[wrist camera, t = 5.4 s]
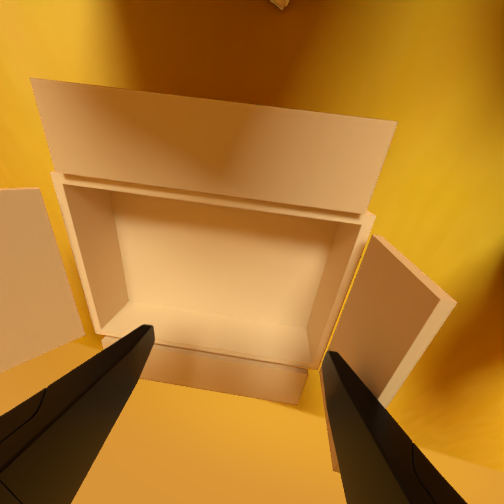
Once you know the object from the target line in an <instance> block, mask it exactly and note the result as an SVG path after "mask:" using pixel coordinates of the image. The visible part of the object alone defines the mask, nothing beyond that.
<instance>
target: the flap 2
mask: <svg viewBox="0 0 504 504" xmlns="http://www.w3.org/2000/svg"><path fill="white" fill-rule="evenodd" d="M456 304H457V302H456V301H455V300H454V299H453V298H452V297H450V296H449V295H448V294H447V293H446V292H445V291H444V290H443V289H441V288H440V287H439V286H438V285H437V284H436V283H435V282H433V281H432V280H431V279H430V278H429V277H428V276H427V275H425V274H424V273H423V272H422V271H421V270H420V269H419V268H417V267H416V266H415V265H414V264H413V263H412V262H411V261H409V260H408V259H407V258H406V257H405V256H404V255H403V254H402V253H400V252H399V251H398V250H397V249H396V248H395V247H394V246H392V245H391V244H390V243H389V242H388V241H387V240H386V239H384V238H383V237H382V236H379V235H372V237H371V240H370V242H369V245H368V247H367V250H366V252H365V255H364V258H363V260H362V263H361V265H360V268H359V271H358V273H357V276H356V278H355V281H354V283H353V286H352V289H351V291H350V294H349V296H348V299H347V302H346V304H345V307H344V309H343V312H342V314H341V317H340V320H339V322H338V325H337V327H336V330H335V333H334V335H333V338H332V340H331V343H330V346H329V348H328V350H330V351H336V352H338V353H339V354H340V355H341V356H342V358H343V359H344V360H345V361H346V362H347V364H348V365H349V366H350V367H351V368H352V370H353V371H354V372H355V373H356V374H357V375H358V377H359V378H360V379H361V380H362V381H363V383H364V384H365V385H366V386H367V387H368V389H369V390H370V391H371V392H372V393H373V395H374V396H375V397H376V398H377V399H378V401H379V402H380V403H381V404H382V405H383V407H384V408H385V409H386V408H387V406H388V405H389V403H390V402H391V400H392V399H393V397H394V396H395V394H396V393H397V392H398V390H399V389H400V387H401V386H402V384H403V383H404V381H405V380H406V378H407V377H408V375H409V374H410V372H411V371H412V369H413V368H414V366H415V365H416V363H417V362H418V360H419V359H420V357H421V356H422V354H423V353H424V351H425V350H426V349H427V347H428V346H429V344H430V343H431V341H432V340H433V338H434V337H435V335H436V334H437V332H438V331H439V329H440V328H441V326H442V325H443V323H444V322H445V320H446V319H447V317H448V316H449V314H450V313H451V311H452V310H453V308H454V307H455V305H456ZM319 373H320V381H321V388H322V395H323V402H324V409H325V416H326V423H327V430H328V438H329V445H330V451H331V459H332V465H333V471H335V472H339V473H340V469H339V465H338V460H337V455H336V451H335V446H334V441H333V437H332V432H331V427H330V423H329V418H328V413H327V408H326V400H325V392H324V383H323V374H322V366H321V369H320V371H319Z"/></svg>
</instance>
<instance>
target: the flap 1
mask: <svg viewBox="0 0 504 504" xmlns="http://www.w3.org/2000/svg"><path fill="white" fill-rule="evenodd" d="M84 335H85V332H84V329H83V326H82V323H81V320H80V316H79V313H78V310H77V307H76V304H75V300H74V297H73V294H72V291H71V288H70V284H69V281H68V278H67V275H66V272H65V268H64V265H63V262H62V259H61V256H60V252H59V249H58V246H57V243H56V240H55V236H54V233H53V230H52V227H51V224H50V220H49V217H48V214H47V211H46V208H45V204H44V201H43V198H42V195H41V192H40V189H39V188H38V187H32V188H0V373H1V372H3V371H5V370H8V369H10V368H12V367H14V366H17V365H19V364H21V363H23V362H26V361H28V360H30V359H33V358H35V357H37V356H39V355H41V354H44V353H46V352H48V351H50V350H52V349H55V348H57V347H60V346H62V345H64V344H66V343H69V342H71V341H73V340H75V339H78V338H80V337H82V336H84Z"/></svg>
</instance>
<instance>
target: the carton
mask: <svg viewBox="0 0 504 504" xmlns="http://www.w3.org/2000/svg"><path fill="white" fill-rule="evenodd" d="M30 81H31V84H32V88H33V92H34V95H35V99H36V103H37V106H38V110H39V114H40V117H41V121H42V125H43V128H44V132H45V136H46V139H47V143H48V147H49V151H50V154H51V158H52V162H53V165H54V169H55V172H50V174H51V177H52V181H53V184H54V188H55V191H56V195H57V198H58V202H59V206H60V209H61V213H62V216H63V220H64V223H65V227H66V230H67V234H68V237H69V241H70V245H71V248H72V252H73V255H74V259H75V262H76V266H77V269H78V273H79V276H80V280H81V284H82V287H83V291H84V294H85V298H86V301H87V305H88V308H89V312H90V315H91V319H92V322H93V326H94V330H95V333H96V334H101V335H107V336H105V337H104V338H103V339H102V340H101V342H102V345H103V349H106V348H107V347H109V346H110V345H112V344H113V343H115V342H116V341H118V340H119V339H120V338H122V337H124V336H125V335H127V334H129V333H130V332H132V331H133V330H135V329H136V328H138V327H139V326H141V325H143V324H149V325H153V327H154V333H155V342H154V343H157V344H163V345H169V346H175V347H181V348H187V349H193V350H187V349H181V348H175V347H169V346H163V345H157V344H154V345H153V348H152V350H151V352H150V355H149V357H148V359H147V362H146V364H145V366H144V369H143V371H142V373H141V376H140V378H139V379H145V380H151V381H157V382H163V383H169V384H175V385H181V386H186V387H192V388H198V389H204V390H210V391H216V392H222V393H228V394H234V395H240V396H246V397H252V398H257V399H263V400H269V401H275V402H281V403H287V404H293V405H298V402H299V399H300V397H301V394H302V391H303V388H304V385H305V382H306V380H307V377H308V369H304V368H310V369H317V370H318V368H319V366H320V363H321V360H322V358H323V355H324V352H325V350H326V347H327V344H328V342H329V339H330V337H331V334H332V331H333V329H334V326H335V323H336V321H337V318H338V315H339V313H340V310H341V308H342V305H343V302H344V300H345V297H346V294H347V292H348V289H349V287H350V284H351V281H352V279H353V276H354V273H355V271H356V268H357V265H358V263H359V260H360V258H361V255H362V252H363V250H364V247H365V244H366V242H367V239H368V237H369V234H370V231H371V229H372V226H373V223H374V221H375V218H376V216H375V215H374V214H372V213H370V212H369V211H367V208H368V205H369V202H370V199H371V197H372V194H373V191H374V188H375V185H376V183H377V180H378V177H379V174H380V171H381V168H382V166H383V163H384V160H385V157H386V154H387V152H388V149H389V146H390V143H391V140H392V138H393V135H394V132H395V129H396V126H397V123H398V121H389V120H381V119H373V118H364V117H356V116H347V115H339V114H331V113H322V112H314V111H306V110H297V109H289V108H281V107H272V106H264V105H256V104H247V103H239V102H230V101H222V100H214V99H205V98H197V97H189V96H180V95H172V94H164V93H155V92H147V91H138V90H130V89H122V88H113V87H105V86H97V85H88V84H80V83H72V82H63V81H55V80H47V79H38V78H30ZM108 336H113V337H108ZM114 337H120V338H114ZM194 350H200V351H206V352H212V353H218V354H224V355H230V356H224V355H218V354H212V353H206V352H200V351H194ZM231 356H237V357H243V358H249V359H255V360H261V361H267V362H274V363H280V364H286V365H292V366H298V367H304V368H298V367H292V366H286V365H280V364H274V363H267V362H261V361H255V360H249V359H243V358H237V357H231Z"/></svg>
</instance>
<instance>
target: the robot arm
mask: <svg viewBox="0 0 504 504" xmlns="http://www.w3.org/2000/svg"><path fill="white" fill-rule="evenodd" d="M154 342H155V333H154V327H153V325H149V324H143V325H141V326H139V327H138V328H136V329H135V330H133V331H132V332H130V333H129V334H127V335H125V336H124V337H122V338H121V339H119V340H118V341H116V342H115V343H113V344H112V345H110V346H109V347H107V348H106V349H104V350H103V351H101V352H99V353H98V354H96V355H95V356H93V357H92V358H91V359H89V360H87V361H86V362H84V363H83V364H81V365H80V366H78V367H76V368H75V369H73V370H72V371H70V372H69V373H68V374H66V375H64V376H63V377H61V378H60V379H58V380H57V381H55V382H54V383H52V384H50V385H49V386H48V387H47V388H44V389H43V390H42V391H40V392H38V393H37V394H35V395H33V396H32V397H30V398H29V399H27V400H26V401H24V402H22V403H21V404H19V405H18V406H16V407H15V408H13V409H11V410H10V411H8V412H6V413H5V414H3V415H2V416H0V504H71V502H72V500H73V499H74V497H75V495H76V493H77V491H78V490H79V488H80V486H81V484H82V482H83V481H84V479H85V477H86V475H87V473H88V471H89V470H90V468H91V466H92V464H93V462H94V460H95V459H96V457H97V455H98V453H99V451H100V450H101V448H102V446H103V444H104V442H105V440H106V438H107V436H108V435H109V433H110V431H111V429H112V427H113V426H114V424H115V422H116V420H117V419H118V417H119V415H120V413H121V411H122V409H123V408H124V406H125V404H126V402H127V400H128V398H129V397H130V395H131V393H132V391H133V389H134V387H135V385H136V384H137V382H138V380H139V378H140V376H141V373H142V371H143V369H144V366H145V364H146V362H147V359H148V357H149V355H150V352H151V350H152V348H153V345H154ZM322 374H323V383H324V392H325V400H326V408H327V413H328V418H329V423H330V427H331V432H332V437H333V441H334V446H335V451H336V455H337V460H338V465H339V469H340V474H341V479H342V483H343V488H344V492H345V497H346V502H347V504H467V503H466V502H465V501H464V499H463V498H462V497H461V496H460V495H459V494H458V493H457V492H456V491H455V490H454V488H453V487H452V486H451V485H450V484H449V483H448V482H447V481H446V480H445V479H444V477H442V475H441V474H440V473H439V472H438V471H437V470H436V468H435V467H434V466H433V465H432V464H431V463H430V461H429V460H428V459H427V458H426V457H425V455H424V454H423V453H422V452H421V451H420V450H419V448H418V447H417V446H416V445H415V444H414V443H412V440H411V439H410V438H409V436H408V435H407V434H406V433H405V432H404V430H403V429H402V428H401V427H400V426H399V425H398V423H397V422H396V421H395V420H394V419H393V417H392V416H391V415H390V414H389V413H388V411H387V410H386V409H385V408H384V407H383V405H382V404H381V403H380V402H379V401H378V399H377V398H376V397H375V396H374V395H373V393H372V392H371V391H370V390H369V389H368V387H367V386H366V385H365V384H364V383H363V381H362V380H361V379H360V378H359V377H358V375H357V374H356V373H355V372H354V371H353V370H352V368H351V367H350V366H349V365H348V364H347V362H346V361H345V360H344V359H343V358H342V356H341V355H340V354H339V353H338V352H336V351H330V350H328V351H327V352H326V354H325V357H324V360H323V362H322Z"/></svg>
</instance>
